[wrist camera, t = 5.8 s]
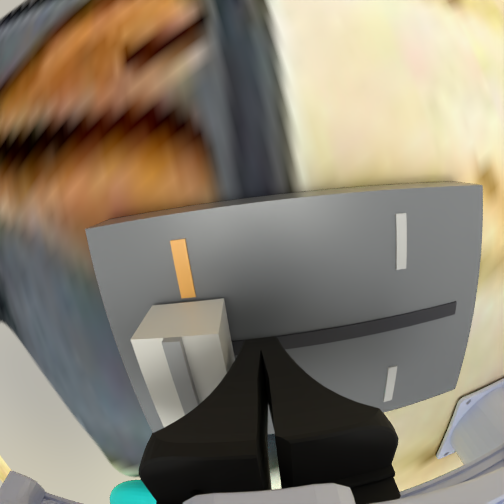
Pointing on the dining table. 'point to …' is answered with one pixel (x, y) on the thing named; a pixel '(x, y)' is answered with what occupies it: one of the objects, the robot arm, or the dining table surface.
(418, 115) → the dining table surface
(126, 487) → the donuts
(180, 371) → the fader
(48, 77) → the dining table surface
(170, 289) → the console
